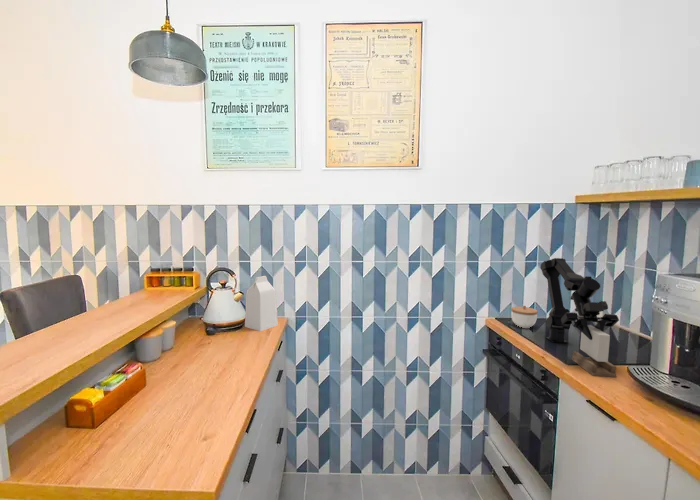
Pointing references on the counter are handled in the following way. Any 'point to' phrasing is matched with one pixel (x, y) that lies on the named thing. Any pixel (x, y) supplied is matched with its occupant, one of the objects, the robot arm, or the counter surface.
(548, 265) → the robot arm
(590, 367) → the flanged channel block
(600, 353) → the clay slab
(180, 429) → the counter surface
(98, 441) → the counter surface
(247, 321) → the milk
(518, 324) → the lidded bowl
